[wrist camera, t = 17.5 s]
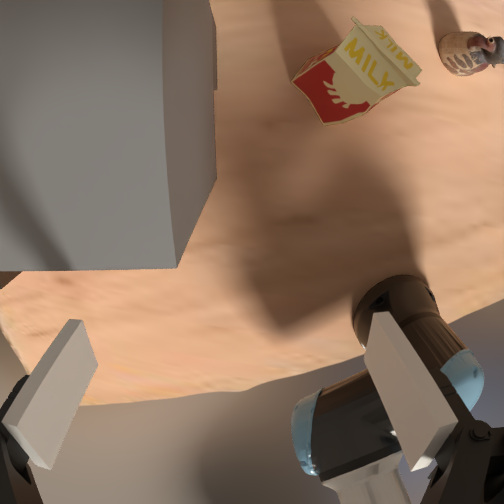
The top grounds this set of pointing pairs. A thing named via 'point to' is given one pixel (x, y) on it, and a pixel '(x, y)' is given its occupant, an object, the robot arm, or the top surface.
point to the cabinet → (104, 131)
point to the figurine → (470, 52)
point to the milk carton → (355, 74)
